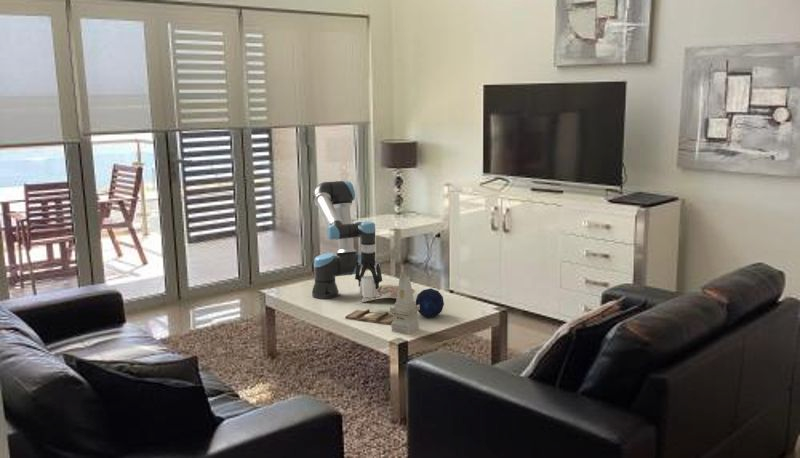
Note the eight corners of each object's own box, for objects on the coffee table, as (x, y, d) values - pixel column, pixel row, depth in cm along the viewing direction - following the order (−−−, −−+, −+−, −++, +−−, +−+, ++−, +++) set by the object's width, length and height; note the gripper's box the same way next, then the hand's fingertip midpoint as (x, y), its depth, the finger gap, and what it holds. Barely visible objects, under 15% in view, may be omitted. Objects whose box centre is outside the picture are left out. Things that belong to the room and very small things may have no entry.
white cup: (379, 295, 369) (379, 277, 367) (368, 299, 363) (368, 280, 361) (368, 292, 374) (368, 274, 372) (358, 296, 368) (357, 277, 366)
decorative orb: (454, 307, 353) (441, 281, 358) (434, 313, 343) (420, 286, 347) (438, 318, 363) (425, 293, 367) (417, 325, 353) (405, 299, 357)
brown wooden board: (345, 318, 354) (345, 314, 354) (357, 312, 365) (357, 307, 364) (389, 324, 343) (389, 320, 343) (400, 318, 354) (400, 313, 353)
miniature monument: (390, 331, 333) (389, 270, 328) (401, 325, 342) (400, 265, 337) (409, 334, 328) (408, 273, 323) (420, 328, 337) (419, 268, 332)
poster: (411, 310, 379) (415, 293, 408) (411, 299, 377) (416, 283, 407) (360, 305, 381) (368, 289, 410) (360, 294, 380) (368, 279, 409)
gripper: (347, 251, 365) (348, 293, 369) (382, 255, 356) (382, 298, 361) (354, 248, 371) (355, 289, 376) (388, 252, 363) (389, 294, 367)
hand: (368, 293), depth 368 cm, fingers closed on white cup, 8 cm apart
